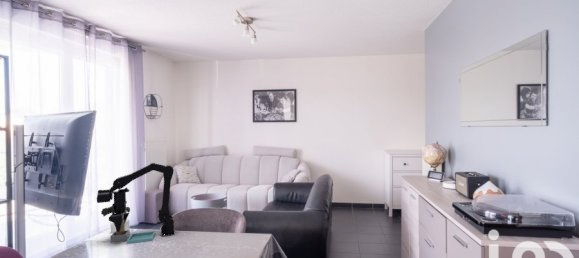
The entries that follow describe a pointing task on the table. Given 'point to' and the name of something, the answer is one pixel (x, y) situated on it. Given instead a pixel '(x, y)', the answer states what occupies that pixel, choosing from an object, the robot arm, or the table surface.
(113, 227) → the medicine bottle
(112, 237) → the grey square open box
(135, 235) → the tray
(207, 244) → the table surface
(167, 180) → the robot arm
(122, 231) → the walnut dowel
